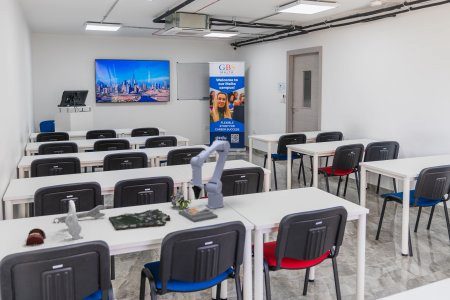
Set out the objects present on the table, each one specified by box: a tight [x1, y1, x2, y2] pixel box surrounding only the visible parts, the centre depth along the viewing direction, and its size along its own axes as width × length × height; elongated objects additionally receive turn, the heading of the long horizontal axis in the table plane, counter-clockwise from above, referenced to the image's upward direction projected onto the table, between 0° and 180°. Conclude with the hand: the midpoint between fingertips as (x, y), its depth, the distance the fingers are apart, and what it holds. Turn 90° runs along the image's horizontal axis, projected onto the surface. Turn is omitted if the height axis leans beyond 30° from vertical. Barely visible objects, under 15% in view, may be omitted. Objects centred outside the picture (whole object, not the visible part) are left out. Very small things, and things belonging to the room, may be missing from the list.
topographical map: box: [108, 208, 171, 231], centre depth 240 cm, size 26×33×3 cm
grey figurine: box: [64, 199, 84, 240], centre depth 218 cm, size 20×7×18 cm, turn 26°
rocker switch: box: [188, 204, 208, 215], centre depth 251 cm, size 10×7×2 cm
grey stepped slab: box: [178, 208, 219, 223], centre depth 251 cm, size 16×20×4 cm
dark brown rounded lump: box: [25, 227, 47, 246], centre depth 208 cm, size 8×6×12 cm
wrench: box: [53, 204, 107, 224], centre depth 241 cm, size 8×2×30 cm
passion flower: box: [170, 190, 192, 211], centre depth 267 cm, size 13×12×14 cm
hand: (197, 197), depth 256 cm, fingers closed
